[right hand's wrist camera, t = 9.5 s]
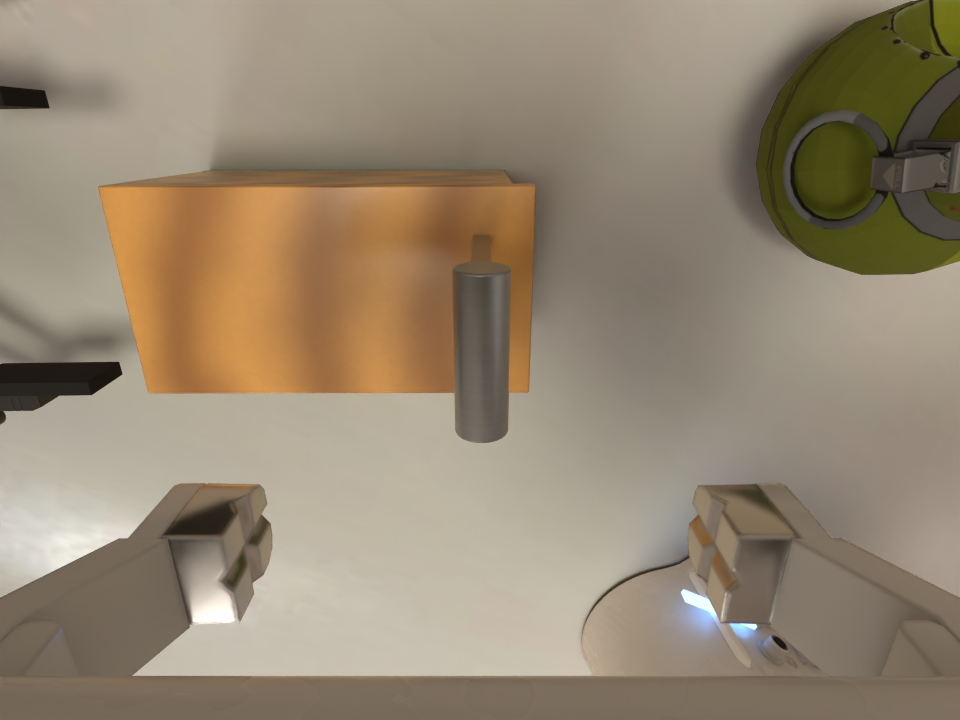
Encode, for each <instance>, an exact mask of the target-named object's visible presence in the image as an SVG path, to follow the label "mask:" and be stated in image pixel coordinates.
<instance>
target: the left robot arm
mask: <svg viewBox="0 0 960 720" xmlns="http://www.w3.org/2000/svg"><path fill="white" fill-rule="evenodd" d="M36 108H49V104H48V101H47V97H46V93H45V91H44V90H33V89H23V88H13V87H3V86H0V109H36ZM121 375H122V371H121V367H120V363H119V362H74V363H4V364H0V424H2V423H3V422H5V420H6V415H5V413H4V412H3V411H14V410H15V411H22V410H23V411H33V410H35V409H38V408H40V407H42V406H43V405H45V404H47V403H48V402H50V401H52V400H53V399H55V398H56V397H58V396H60V395H92V394H94V393H95V392H97V391H98V390H100V389H101V388H103V387H104V386H106V385H107V384H109V383H110V382H112V381H113V380H115V379H116V378H118V377H119V376H121Z"/></svg>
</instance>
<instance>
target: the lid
mask: <svg viewBox="0 0 960 720" xmlns="http://www.w3.org/2000/svg"><path fill="white" fill-rule="evenodd" d="M99 193H100V197H101V201H102V205H103V209H104V213H105V217H106V221H107V225H108V229H109V233H110V238H111V242H112V246H113V250H114V254H115V258H116V262H117V266H118V270H119V274H120V278H121V283H122V287H123V291H124V295H125V299H126V303H127V307H128V311H129V315H130V319H131V323H132V328H133V332H134V336H135V340H136V344H137V348H138V352H139V356H140V360H141V364H142V368H143V373H144V377H145V381H146V385H147V389H148V393H455V430H456V433H457V434H458V436H459V437H461V438H462V439H464V440H467V441H470V442H475V443H488V442H493V441H497V440H499V439H501V438H503V437H504V436H505V435H506V433H507V432H508V407H509V393H518V392H529V376H530V347H531V317H532V288H533V258H534V229H535V199H536V186H535V185H534V184H532V183H493V184H111V185H104V186H99Z"/></svg>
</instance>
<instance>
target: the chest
mask: <svg viewBox="0 0 960 720" xmlns="http://www.w3.org/2000/svg"><path fill="white" fill-rule="evenodd" d="M493 183H512V182H511V180H510V179H509V177H508V176H507V174H506V173H505V170H258V171H203V172H197V173H190V174H183V175H176V176H168V177H161V178H154V179H147V180H140V181H132V182H125V183H118V184H493Z"/></svg>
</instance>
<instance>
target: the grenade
mask: <svg viewBox="0 0 960 720" xmlns="http://www.w3.org/2000/svg"><path fill="white" fill-rule="evenodd" d="M756 166H757V173H758V180H759V186H760V193H761V199H762V202H763V204H764V206H765V208H766V210H767V211H768V213H769V215H770V217H771V219H772V221H773V222H774V224H775V226H776V228H777V230H778V231H779V232H780V233H781V234H782V235H783V236H784V237H785V238H786V239H788V240H789V241H790V242H791V243H792V244H794V245H795V246H796V247H797V248H798V249H800V250H801V251H802V252H803V253H804V254H806V255H807V256H809V257H811V258H813V259H815V260H818V261H821V262H824V263H827V264H830V265H833V266H836V267H839V268H842V269H845V270H848V271H851V272H854V273H858V274H861V275H885V274H915V273H920V272H924V271H928V270H932V269H935V268H938V267H941V266H945V265H948V264H951V263H955V262H958V261H960V0H917V1H910V2H908V3H905V4H902V5H900V6H897V7H895V8H892V9H889V10H887V11H884V12H882V13H879V14H876V15H874V16H871V17H868V18H866V19H863V20H860V21H857V22H855V23H853V24H852V25H851V26H849V27H848V28H846V29H845V30H844V31H842V32H841V33H840V34H838V35H837V36H835V37H834V38H833V39H831V40H830V41H829V42H827V43H826V44H824V45H823V46H822V47H820V48H819V49H818V50H816V51H815V52H814V53H812V54H811V55H810V56H808V58H807V59H806V60H805V61H804V62H803V64H802V65H801V66H800V67H799V69H798V70H797V71H796V72H795V74H794V75H793V76H792V77H791V78H790V80H789V81H788V82H787V83H786V85H785V86H784V87H783V88H782V89H781V91H780V92H779V94H778V96H777V98H776V100H775V102H774V105H773V107H772V109H771V111H770V113H769V115H768V118H767V120H766V122H765V124H764V126H763V129H762V132H761V138H760V144H759V151H758V157H757V163H756Z"/></svg>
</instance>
